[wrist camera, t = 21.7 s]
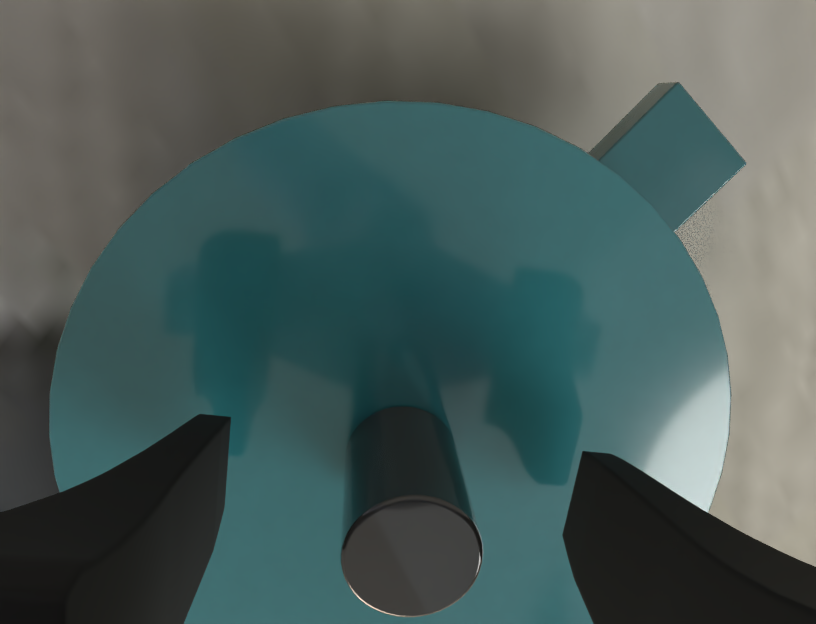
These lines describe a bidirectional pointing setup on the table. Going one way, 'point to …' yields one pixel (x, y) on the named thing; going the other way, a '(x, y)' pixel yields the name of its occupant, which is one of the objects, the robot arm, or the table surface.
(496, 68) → the table surface
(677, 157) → the pot
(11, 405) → the table surface
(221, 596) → the pot lid
